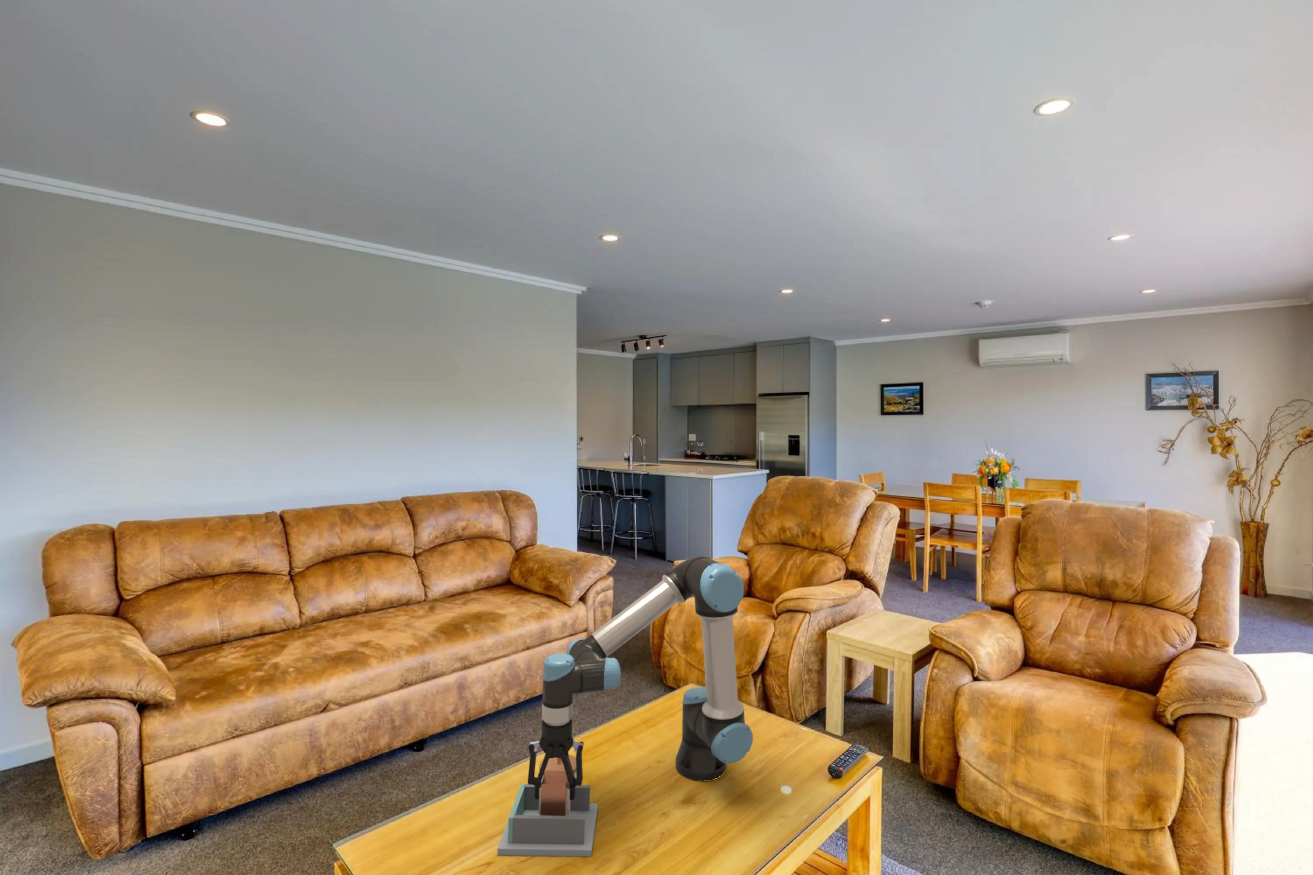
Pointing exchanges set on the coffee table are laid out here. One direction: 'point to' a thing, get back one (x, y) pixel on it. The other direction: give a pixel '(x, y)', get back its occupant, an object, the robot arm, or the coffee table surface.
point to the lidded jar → (559, 765)
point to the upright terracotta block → (554, 793)
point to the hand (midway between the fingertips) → (554, 811)
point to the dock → (549, 827)
